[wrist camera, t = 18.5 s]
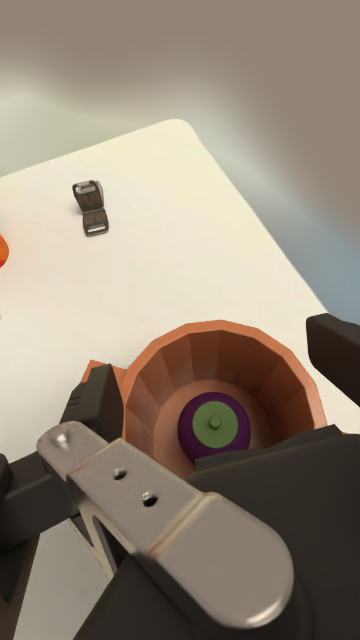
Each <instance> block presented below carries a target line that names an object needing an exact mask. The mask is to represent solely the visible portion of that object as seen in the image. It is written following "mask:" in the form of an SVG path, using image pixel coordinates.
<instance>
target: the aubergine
mask: <svg viewBox="0 0 360 640" xmlns="http://www.w3.org/2000/svg"><path fill="white" fill-rule="evenodd" d="M177 434H178V440H179V443H180V446H181V448H182V450H183V451H184V453H185V454H186V456H187V457H188V458H189V460H190V461H191V462H192V463H193V464H194V465H195V461H194V459H198V458H202V457H206V456H210V455H214V454H218V453H222V452H226V451H232V450H247V449H248V447H249V445H250V441H251V423H250V420H249V417H248V415H247V413H246V411H245V409H244V408H243V406H242V405H241V404H240V403H239V402H238V401H237V400H235V399H234V398H233V397H231V396H229V395H227V394H224V393H220V392H206V393H202V394H200V395H198V396H196V397H194V398H193V399H191V400H190V401H189V402H188V403H187V404H186V405H185V407H184V408H183V410H182V411H181V413H180V416H179V419H178V425H177Z"/></svg>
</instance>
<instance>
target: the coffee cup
mask: <svg viewBox="0 0 360 640" xmlns="http://www.w3.org/2000/svg"><path fill="white" fill-rule="evenodd" d="M8 253H9V249H8V246H7V244H6V242H5V240H4V239H3V237H2V236H1V235H0V267H1V266H2V265H3V264H4V263H5V261H6V259H7V257H8Z"/></svg>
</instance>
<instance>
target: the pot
mask: <svg viewBox="0 0 360 640" xmlns="http://www.w3.org/2000/svg"><path fill="white" fill-rule="evenodd" d="M102 365H106V364H105V363H101V362H98V361H94V360H90V362H89V364H88V367H87V369H86V371H85V373H84V376H83V378H82V380H81V382H80V383H82V382H87V379H88V376H89V373H90V370H91V368H93V367H98V366H102ZM112 367H113V370H114V373H115V377H116V380H117V383H118V387H119V390H120V393H121V396H122V400H123V405H124V421H123V432H122V439H123V440H125V441H126V442H128V443H129V444H131V445H132V446H134V447H135V448H137V449H138V450H140V451H141V452H143V453H144V454H146V455H147V456H148V457H150V458H151V459H153V460H154V461H156V462H157V463H159V464H160V465H162V466H163V467H165V468H166V469H168V470H169V471H171V472H172V473H173V474H175V475H176V476H178V477H179V478H181V479H183V478H185V477H186V476H188V475H189V474H191V473H193V472H195V471H197V470H196V465H194V464H193V463H192V462H191V461H190V460H189V458H188V457H187V456H186V454H185V453H184V451H183V450H182V448H181V446H180V443H179V440H178V434H177V425H178V419H179V416H180V413H181V411H182V410H183V408H184V407H185V405H186V404H187V403H188V402H189V401H190V400H191V399H193V398H194V397H196V396H198V395H200V394H202V393H206V392H220V393H224V394H227V395H229V396H231V397H233V398H234V399H235V400H237V401H238V402H239V403H240V404H241V405H242V406H243V408H244V409H245V411H246V413H247V415H248V417H249V420H250V423H251V441H250V445H249V447H248V449H247V450H250V449H266V448H270V447H273V446H275V445H277V444H279V443H281V442H283V441H285V440H287V439H289V438H291V437H293V436H295V435H297V434H299V433H301V432H305V431H309V430H313V429H317V428H321V427H325V426H327V421H326V418H325V414H324V411H323V407H322V404H321V400H320V397H319V393H318V390H317V386H316V384H315V382H314V381H313V379H312V378H311V377H310V375H309V374H308V372H307V371H306V370H305V368H304V367H303V366H302V364H301V363H300V362H299V360H298V359H297V358H296V356H295V355H294V354H293V352H292V351H290V349H288V348H287V347H285V346H284V345H282V344H281V343H279V342H278V341H276V340H275V339H273V338H272V337H270V336H269V335H267V334H266V333H264V332H263V331H261V330H260V329H257V328H254V327H250V326H246V325H241V324H237V323H233V322H229V321H225V320H214V321H205V322H196V323H188V324H186V325H185V324H184V325H182V326H180V327H178V328H177V329H175V330H173V331H171V332H169V333H167V334H165V335H163V336H161V337H159V338H157V339H155V340H154V341H152V342H151V343H150V344H149V345H148V346H147V347H146V349H145V350H144V351H143V352H142V353H141V354H140V355H139V356H138V357H137V358H136V360H135V361H134V362H133V363H132V364H131V365H130V366H129V367H128V369H127V370H126V369H122V368H119V367H115V366H112ZM342 433H343V434H348V433H344V432H342Z"/></svg>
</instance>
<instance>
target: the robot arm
mask: <svg viewBox="0 0 360 640" xmlns="http://www.w3.org/2000/svg"><path fill="white" fill-rule="evenodd" d="M306 332H307V344H308V355H309V359H310V361H311V363H312V365H313V366H314V368H315V369H317V370H318V371H319V372H320V373H321V374H322V375H323V376H325V377H326V378H327V379H328V380H329V381H330V382H331V383H333V384H334V385H335V386H336V387H337V388H338V389H339V390H341V391H342V392H343V393H344V394H345V395H346V396H347V397H349V398H350V399H351V400H352V401H353V402H354V403H355V404H357V405H358V406H359V407H360V326H359V325H357V324H354V323H349V322H345V321H342V320H340V319H338V318H336V317H334V316H332V315H330V314H328V313H324V314H320V315H315V316H311V317H308V318H307V320H306ZM123 421H124V405H123V400H122V396H121V393H120V390H119V387H118V383H117V380H116V377H115V373H114V370H113V367H112V365H111V364H106V365H102V366H98V367H93V368H91V370H90V373H89V376H88V379H87V382H82V383H80V384H79V385H78V386H77V387H76V388H75V389H74V390H73V391H72V393H71V396H70V398H69V401H68V403H67V407H66V408H65V411H64V413H63V416H62V418H61V421H60V423H59V425H57V426H55V427H53V428H51V429H50V430H48V431H47V432H46V433H44V434H43V435H42V436H41V438H40V439H39V440H38V442H37V445H36V448H37V451H36V452H34V453H32V454H30V455H28V456H26V457H24V458H21V459H19V460H17V461H15V462H12V463H10V464H9V463H8V461H7V459H6V457H5V455H3V454H1V453H0V640H13V638H14V634H15V630H16V626H17V622H18V618H19V614H20V611H21V607H22V603H23V599H24V595H25V591H26V587H27V584H28V580H29V576H30V572H31V568H32V564H33V560H34V557H35V553H36V549H37V545H38V541H39V537H40V533H42V532H44V531H46V530H48V529H49V528H51V527H53V526H55V525H57V524H59V523H61V522H62V521H64V520H66V519H67V520H68V522H69V524H70V525H71V526H72V528H73V529H74V530H75V532H76V533H77V534H78V535H79V537H80V538H81V539H82V541H83V542H84V543H85V545H86V546H87V547H88V549H89V550H90V551H91V553H92V554H93V555H94V557H95V558H96V559H97V561H98V562H99V564H100V565H101V567H102V569H103V570H104V572H105V574H106V576H107V578H108V580H109V581H110V582H109V584H108V585H107V587H106V589H105V590H104V592H103V593H102V595H101V596H100V598H99V599H98V601H97V603H96V604H95V606H94V607H93V609H92V610H91V612H90V614H89V615H88V617H87V618H86V620H85V621H84V623H83V625H82V626H81V628H80V629H79V631H78V632H77V634H76V636H75V637H74V639H73V640H360V434H343V433H342V432H341V431H340V430H339V428H338V427H337V426H336V425H335V424H333V425H329V426H325V427H321V428H317V429H313V430H309V431H305V432H301V433H299V434H297V435H295V436H293V437H291V438H289V439H287V440H285V441H283V442H281V443H279V444H277V445H275V446H273V447H270V448H266V449H250V450H232V451H226V452H222V453H218V454H214V455H210V456H206V457H202V458H198V459H194V461H195V465H196V470H197V471H195V472H193V473H191V474H189V475H188V476H186V477H185V478H183V479H181V478H179V477H178V476H176V475H175V474H173V473H172V472H171V471H169V470H168V469H166V468H165V467H163V466H162V465H160V464H159V463H157V462H156V461H154V460H153V459H151V458H150V457H148V456H147V455H146V454H144V453H143V452H141V451H140V450H138V449H137V448H135V447H134V446H132V445H131V444H129V443H128V442H126V441H125V440H123V439H122V432H123Z"/></svg>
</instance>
